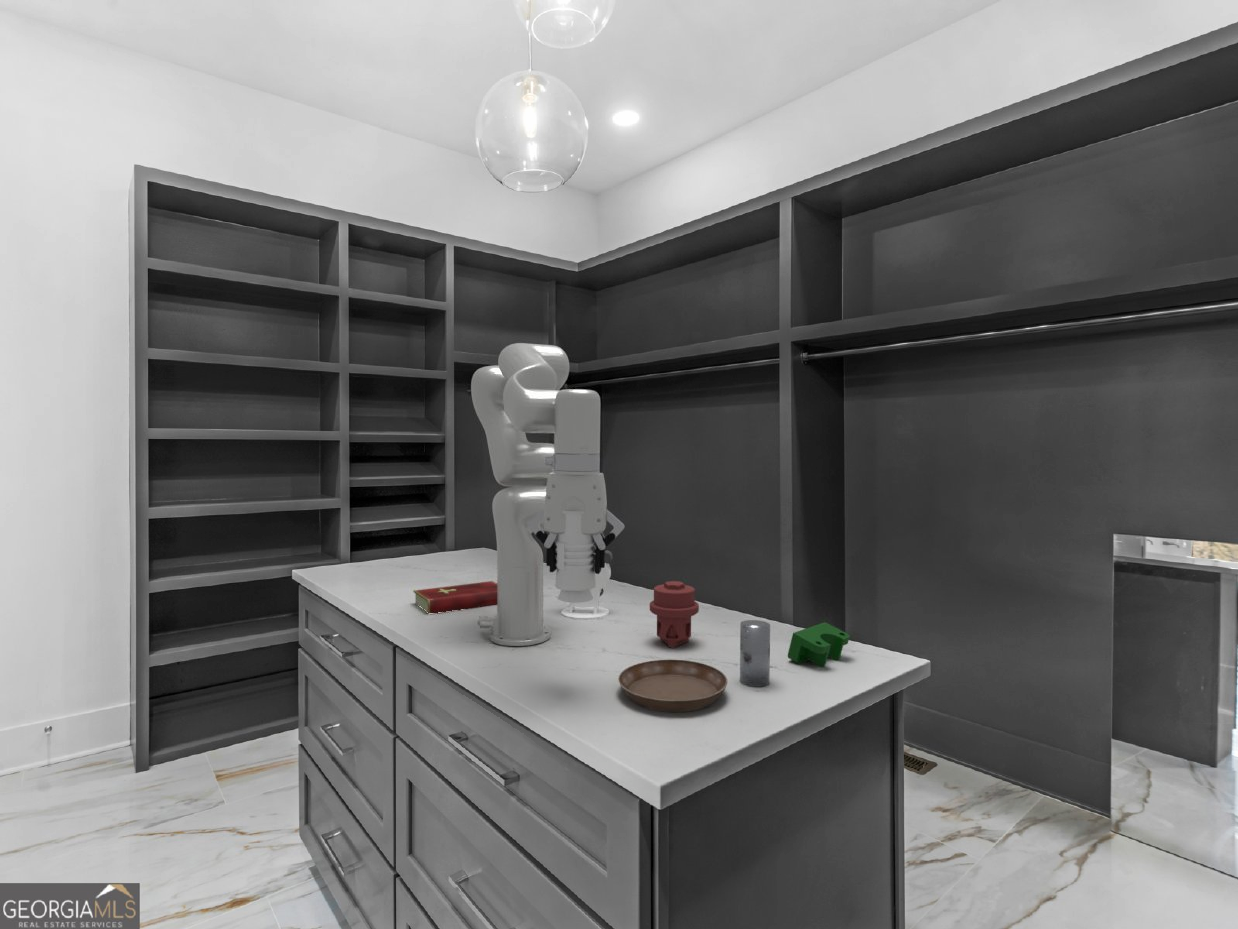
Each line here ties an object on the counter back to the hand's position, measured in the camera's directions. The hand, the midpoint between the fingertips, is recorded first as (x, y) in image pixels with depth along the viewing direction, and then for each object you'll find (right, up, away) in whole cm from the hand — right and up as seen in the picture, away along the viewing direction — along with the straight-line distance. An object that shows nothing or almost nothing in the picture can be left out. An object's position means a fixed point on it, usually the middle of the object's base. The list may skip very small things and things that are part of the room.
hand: (575, 570), depth 108 cm
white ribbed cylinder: (0, -5, 0) cm, 5 cm away
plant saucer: (+16, -20, -2) cm, 26 cm away
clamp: (+45, -20, +15) cm, 51 cm away
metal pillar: (+31, -20, +3) cm, 36 cm away
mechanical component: (+18, -19, +25) cm, 36 cm away
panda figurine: (-1, -18, +47) cm, 51 cm away
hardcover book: (-32, -18, +56) cm, 67 cm away
